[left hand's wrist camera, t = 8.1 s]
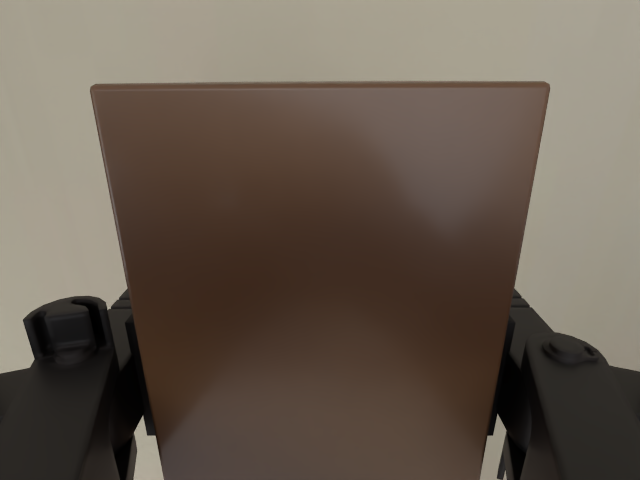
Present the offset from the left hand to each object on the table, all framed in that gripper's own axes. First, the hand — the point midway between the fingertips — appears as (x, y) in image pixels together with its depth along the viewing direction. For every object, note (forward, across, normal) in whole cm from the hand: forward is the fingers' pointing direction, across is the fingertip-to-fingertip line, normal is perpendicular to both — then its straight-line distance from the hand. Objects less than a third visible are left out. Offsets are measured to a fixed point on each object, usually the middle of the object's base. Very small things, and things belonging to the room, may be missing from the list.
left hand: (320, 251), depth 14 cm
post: (0, 0, -22) cm, 22 cm away
